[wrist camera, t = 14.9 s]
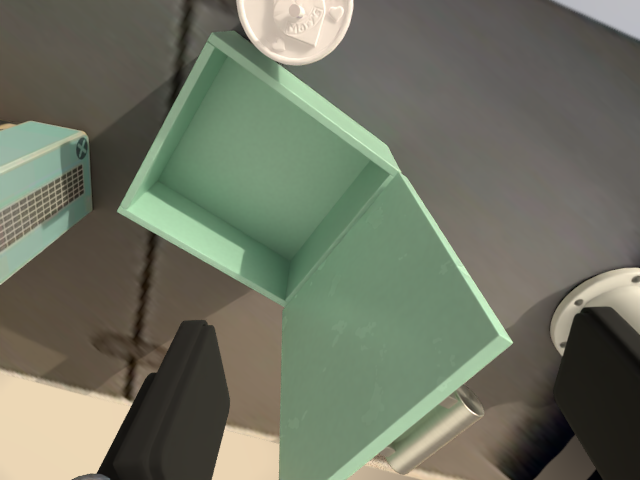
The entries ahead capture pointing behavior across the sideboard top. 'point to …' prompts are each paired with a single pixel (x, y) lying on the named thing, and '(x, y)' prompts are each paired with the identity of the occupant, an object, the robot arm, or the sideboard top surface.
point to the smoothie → (295, 27)
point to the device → (39, 188)
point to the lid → (382, 347)
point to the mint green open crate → (256, 171)
